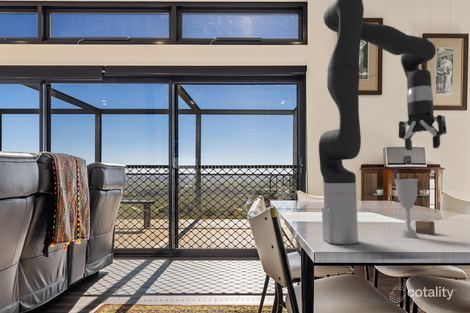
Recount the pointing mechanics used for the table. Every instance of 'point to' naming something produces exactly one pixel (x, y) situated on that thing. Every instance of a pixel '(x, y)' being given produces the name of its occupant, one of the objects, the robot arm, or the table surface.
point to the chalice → (407, 202)
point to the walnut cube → (425, 227)
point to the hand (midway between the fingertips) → (422, 149)
